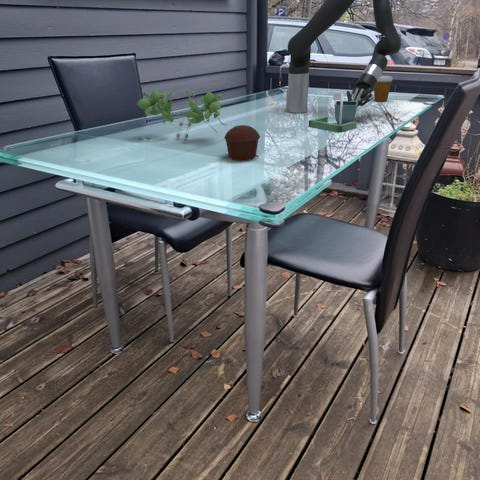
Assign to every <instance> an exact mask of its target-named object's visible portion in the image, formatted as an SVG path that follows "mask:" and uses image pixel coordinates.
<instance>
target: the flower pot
mask: <svg viewBox="0 0 480 480" xmlns="http://www.w3.org/2000/svg"><path fill="white" fill-rule="evenodd" d="M357 103H358V102H357V101H348V100H343V106H342V120H341V125H342V124H345V123H349V122H353V121H355V119H356V114H357V109H358V107H357ZM340 104H341V101H340V100H335V103H334V117H335V122H336V124H337V125H339V119H340Z"/></svg>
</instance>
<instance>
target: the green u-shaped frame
mask: <svg viewBox="0 0 480 480" xmlns="http://www.w3.org/2000/svg"><path fill="white" fill-rule="evenodd" d="M332 93H333V95H332V99H333V100H335V101H341V104H340V119H339V125H338V124H337V123H336V124H335V123H331V122H329V120H328V119H329V116H321V117H318V118H313V119H309V120H308V125H307V127H308V128H309V127H310V128H314V129H318V130H319V129H320V130H324V131H329V132H335V133H339V132H341V133H344V132H347V131H348V132H349V131H350V130H351V131H352V130H355V129H357V124H358V121H355V120H354V121H353V122H349V123H345V124H342V125H341V120H342V106H343V101H344V93H340V92H332Z"/></svg>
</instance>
